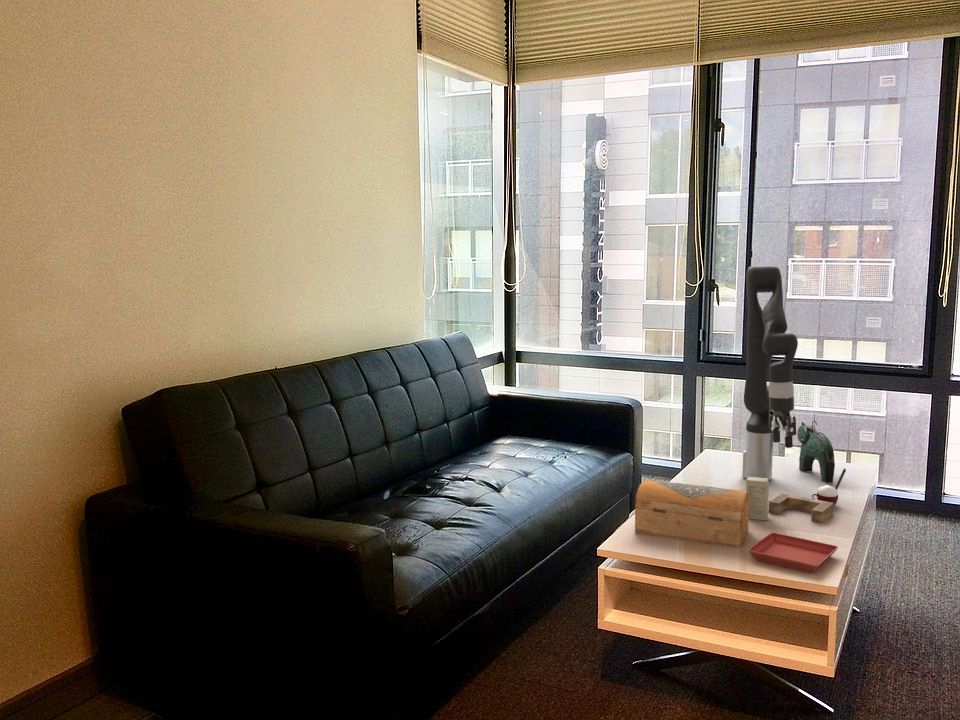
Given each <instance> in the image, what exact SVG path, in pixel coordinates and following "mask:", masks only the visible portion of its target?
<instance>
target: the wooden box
mask: <svg viewBox="0 0 960 720" xmlns="http://www.w3.org/2000/svg"><path fill="white" fill-rule="evenodd" d="M634 506H635V509H634V532H635V534H641V535H647V536H655V537H661V538H667V539H675V540H680V541H681V540H682V541H689V542H695V543H702V544H709V545H716V546H724V547H730V548H738V549H741V548H742V546H743V544H744V542H745V539H746V537H747V534H748V532H749V507H750V497H749V494H748V492H746V490H739V489H731V488H723V487H717V486H716V487H715V486H707V485H701V484H700V485H699V484H689V483H680V482H670V481H669V482H668V481H658V480H649V479H648V480H643V481H642V482H641V483H640V484H639V487H638V488H637V491H636V495H635V503H634Z"/></svg>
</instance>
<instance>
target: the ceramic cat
mask: <svg viewBox="0 0 960 720" xmlns="http://www.w3.org/2000/svg"><path fill="white" fill-rule="evenodd" d="M814 423H815V425H816V426H818V422H817V421H816V420H815V419H813V420H812V422H811V425H807V424H805V422H803V421H802V422H801V425H800V426H799V427H798V428H797V433H796V439H797V440H798V441H799V442H800V443H801V445H800V451H799V457H798V460H799V465H798V467H799V468H798V470H799V469H800V470H799V471H801V470H802V471H801V472H803V471H812V472H813V465H814V461H815V459H816V460H817V462H818V465H819V469H820V470H819V472H820V479H821V483H824V482H825V484H830V483H831V484H832V483H833V482H834V476H835V468H836V463H835V452H834V448H833V444H832V443H831V440H830V439H829V437H827V435H826V434H825V433H823V432H818V431H817V429H816V427H815V426H814V425H813V424H814ZM829 482H830V483H829Z"/></svg>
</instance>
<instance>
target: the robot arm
mask: <svg viewBox="0 0 960 720" xmlns="http://www.w3.org/2000/svg"><path fill="white" fill-rule="evenodd" d="M745 277H746V279H745V281H746V283H745V284H746V301H747V302H746V305H747V307H746V308H747V321H746V322H747V323H746V371H745V372H746V373H745V374H746V375H745V384H744V391H743V403H744V404H743V405H744V406H745V408H746V409H747V411H748V412H750V413H751V414H750V417H749V419H748V421H747V422H746V425H745V426H746V428H745V430H746V431H745V450H743V453H742V473H741V474H742V476H741V477H742V478H745V479H747V478H748V477H759V478H769V481H771V480H772V477H773V458H774V457H773V456H774V455H773V454H774V453H773V452H774V443H776V444H777V443H780V442H781V431H783V433H784V447H785V448H786V449H791V448H793V445H794V444H793V436H797V419H796V418H797V417H796V416H795V415H791V412H792V411H793V410H794V409H795V395H794V394H795V391H794V388H795V387H794V383H793V382H794V381H793V368H794V367H793V366H794V362H795V356H796V353H797V350H798V345H799V342H798V338H797V336H796V335H795V334H794V333H793V332H787V330H788V322H787V318H786V315H785V311H784V310H785V308H784V295H783V292H784V291H783V279H782V273H781V270H780V268H779V266H776V265H751V266H749V267H748V268H747V269H746V275H745ZM758 293H760V294H761V293H762V294H763V293H772V294H771V296H770V298H769V299H768V301H767V302H766V303H765V305H764V307H763V309H762V307H761V305H760V302H759V299H758ZM773 356H774V357H775V356H784V358H783V359H781V360H780V361H776V362H773V363H771V361H772V360H773V359H772V358H773ZM767 377H768V378H767ZM767 380H768V381H767ZM780 430H781V431H780Z"/></svg>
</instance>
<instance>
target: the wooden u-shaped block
mask: <svg viewBox="0 0 960 720" xmlns="http://www.w3.org/2000/svg"><path fill="white" fill-rule="evenodd" d="M834 506H835V505H834V503H832V502H827V501H821V500H818V499H816V498H814V499H813V498H810V497H804V496H798V495H794V494H788V493H780V494H779V495H777V496H775V497H774V498H772V499H771V500H768V514H775V515H779V514H781V513H782V512H784V511H786V509H792V510H797V511H800V512H801V511H802V512H805V513H807V512H808V513H811V522H815V523H819V524H822V523H824V522H825V521H826V520H828V519H829V518H830V517H831V516H832V515H833V514H834Z"/></svg>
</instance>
